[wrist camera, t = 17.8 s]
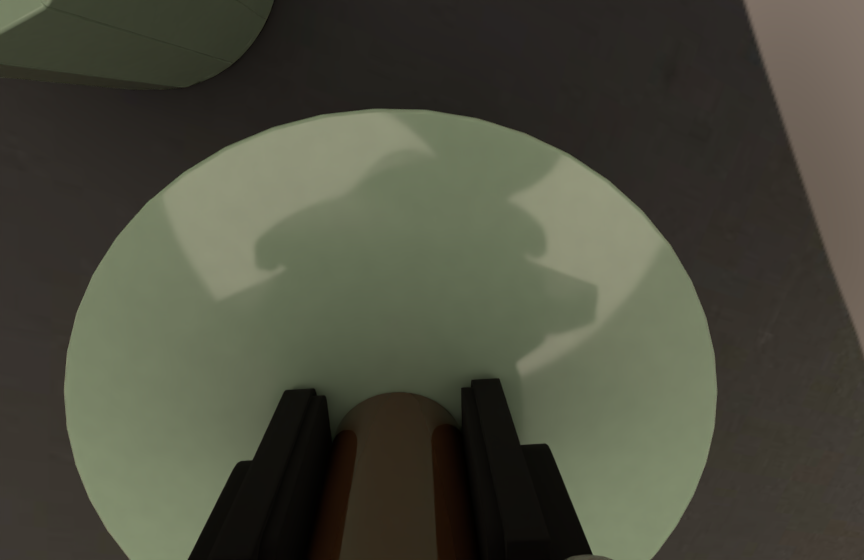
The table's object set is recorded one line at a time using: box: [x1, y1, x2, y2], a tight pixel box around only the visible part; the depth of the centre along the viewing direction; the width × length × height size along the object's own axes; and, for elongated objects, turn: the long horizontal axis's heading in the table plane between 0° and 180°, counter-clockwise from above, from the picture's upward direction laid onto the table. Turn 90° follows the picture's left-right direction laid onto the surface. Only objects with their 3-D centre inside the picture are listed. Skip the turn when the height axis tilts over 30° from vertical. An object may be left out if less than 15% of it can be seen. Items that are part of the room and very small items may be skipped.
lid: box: [64, 108, 717, 560], centre depth 9 cm, size 13×13×6 cm
